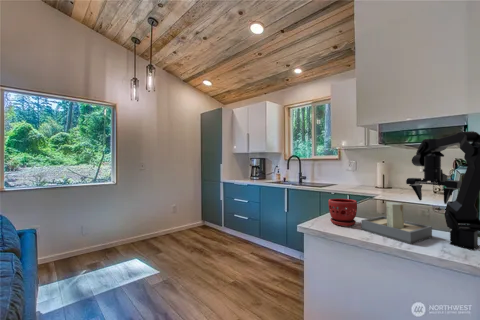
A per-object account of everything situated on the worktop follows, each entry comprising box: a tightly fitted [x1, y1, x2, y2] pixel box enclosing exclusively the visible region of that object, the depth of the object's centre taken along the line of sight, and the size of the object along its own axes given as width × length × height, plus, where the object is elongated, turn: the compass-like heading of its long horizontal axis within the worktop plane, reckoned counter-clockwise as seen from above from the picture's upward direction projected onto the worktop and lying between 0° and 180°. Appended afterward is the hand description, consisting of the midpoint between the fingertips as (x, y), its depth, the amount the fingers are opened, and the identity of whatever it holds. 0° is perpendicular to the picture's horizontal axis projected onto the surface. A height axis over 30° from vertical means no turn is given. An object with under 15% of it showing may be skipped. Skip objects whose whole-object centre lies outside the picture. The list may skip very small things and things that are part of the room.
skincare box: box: [385, 201, 405, 229], centre depth 98 cm, size 6×4×12 cm
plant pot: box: [327, 198, 358, 227], centre depth 114 cm, size 13×13×12 cm
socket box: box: [361, 215, 433, 245], centre depth 99 cm, size 20×16×4 cm
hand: (432, 202), depth 101 cm, fingers open, 9 cm apart
